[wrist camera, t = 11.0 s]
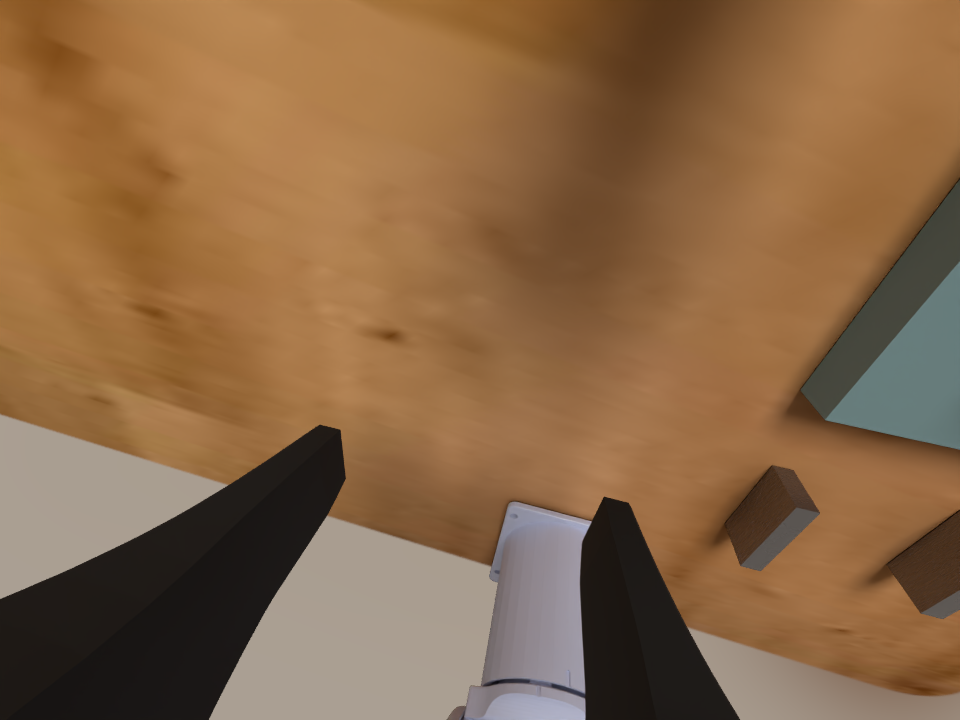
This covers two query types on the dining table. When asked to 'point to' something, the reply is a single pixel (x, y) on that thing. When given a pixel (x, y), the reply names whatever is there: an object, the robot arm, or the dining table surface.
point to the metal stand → (789, 510)
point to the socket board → (903, 345)
